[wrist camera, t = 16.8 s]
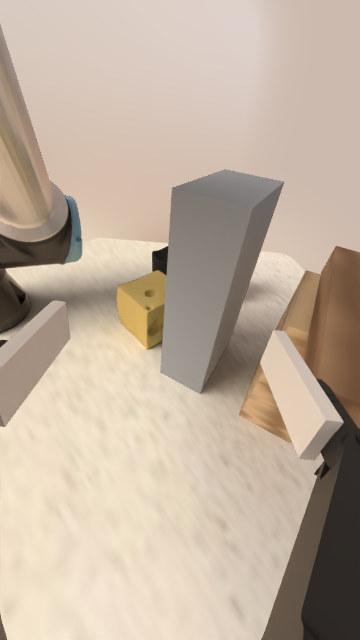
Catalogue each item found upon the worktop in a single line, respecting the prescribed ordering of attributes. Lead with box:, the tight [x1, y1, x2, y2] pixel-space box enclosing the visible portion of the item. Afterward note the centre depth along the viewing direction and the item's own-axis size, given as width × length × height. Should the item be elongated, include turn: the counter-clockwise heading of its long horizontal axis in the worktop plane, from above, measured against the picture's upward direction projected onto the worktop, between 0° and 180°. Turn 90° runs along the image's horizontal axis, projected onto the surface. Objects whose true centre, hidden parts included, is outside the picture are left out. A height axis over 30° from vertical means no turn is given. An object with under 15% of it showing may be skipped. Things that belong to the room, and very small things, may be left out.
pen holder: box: [152, 246, 168, 276], centre depth 59 cm, size 9×9×10 cm
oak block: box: [239, 271, 321, 442], centre depth 35 cm, size 8×14×20 cm, turn 150°
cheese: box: [116, 270, 167, 349], centre depth 48 cm, size 10×11×10 cm
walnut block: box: [303, 246, 360, 429], centre depth 24 cm, size 4×25×4 cm, turn 151°
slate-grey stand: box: [161, 170, 284, 393], centre depth 36 cm, size 8×14×30 cm, turn 151°
